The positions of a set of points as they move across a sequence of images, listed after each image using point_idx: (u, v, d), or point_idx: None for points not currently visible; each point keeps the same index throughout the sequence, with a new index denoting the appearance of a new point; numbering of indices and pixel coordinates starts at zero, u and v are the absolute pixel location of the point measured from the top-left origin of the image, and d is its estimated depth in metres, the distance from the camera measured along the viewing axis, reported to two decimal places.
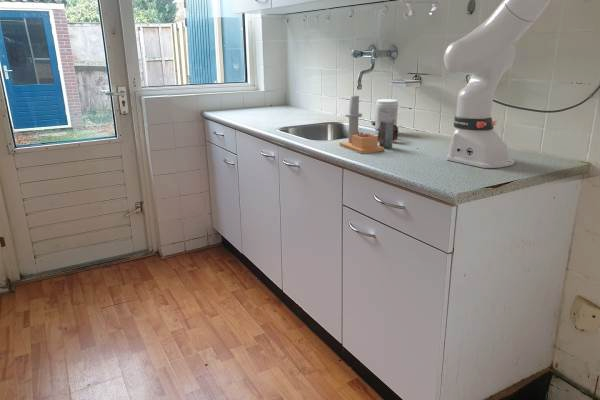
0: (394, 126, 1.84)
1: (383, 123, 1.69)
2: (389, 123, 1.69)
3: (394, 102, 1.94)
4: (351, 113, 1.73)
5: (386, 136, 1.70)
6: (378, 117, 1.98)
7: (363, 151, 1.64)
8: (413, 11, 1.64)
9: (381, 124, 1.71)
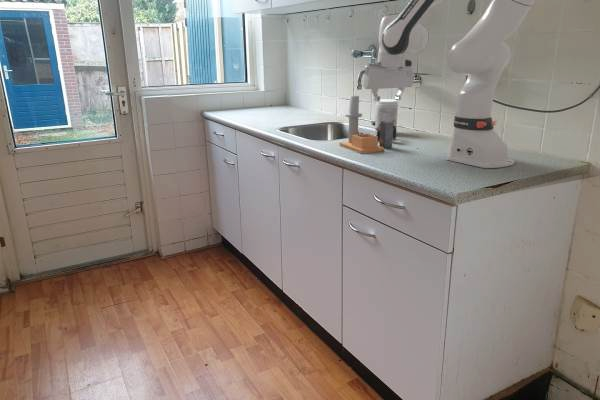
0: None
1: (383, 123, 1.69)
2: (389, 123, 1.69)
3: (394, 102, 1.94)
4: (351, 113, 1.73)
5: (386, 136, 1.70)
6: (378, 117, 1.98)
7: (363, 151, 1.64)
8: (378, 97, 1.65)
9: (381, 124, 1.71)
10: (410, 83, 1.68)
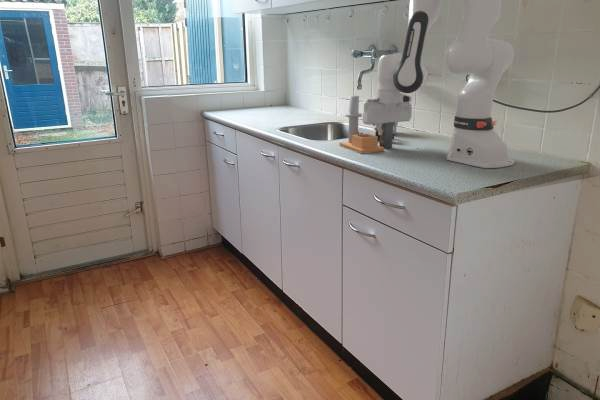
0: None
1: (383, 123, 1.69)
2: (389, 123, 1.69)
3: None
4: (351, 113, 1.73)
5: (386, 136, 1.70)
6: None
7: (363, 151, 1.64)
8: (382, 131, 1.70)
9: None
10: (408, 117, 1.72)
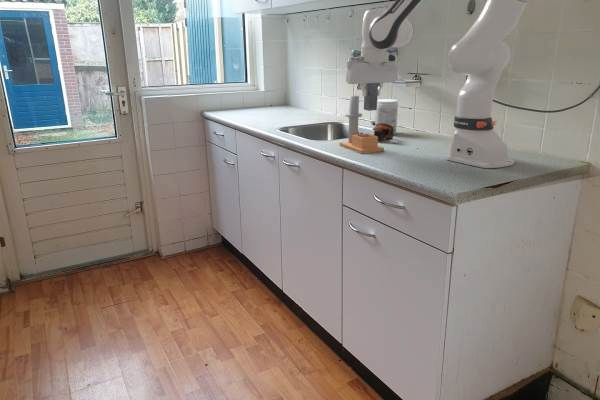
0: (389, 126, 1.84)
1: None
2: (374, 83, 1.62)
3: (394, 102, 1.94)
4: (351, 113, 1.73)
5: (371, 97, 1.64)
6: (378, 117, 1.98)
7: (363, 151, 1.64)
8: (367, 92, 1.63)
9: None
10: (394, 78, 1.65)
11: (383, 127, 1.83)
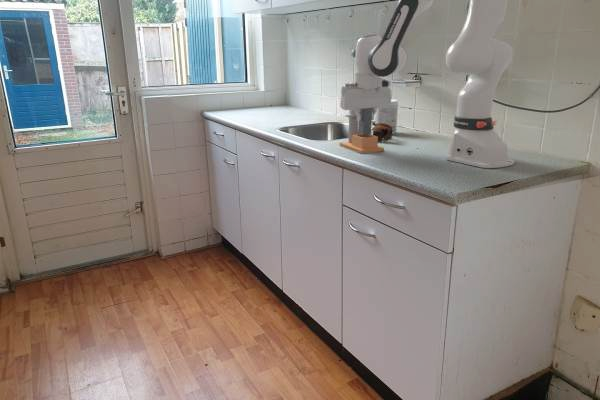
0: (388, 126, 1.84)
1: (361, 109, 1.65)
2: (367, 108, 1.64)
3: (394, 102, 1.94)
4: (351, 113, 1.73)
5: (365, 122, 1.66)
6: (378, 117, 1.98)
7: (363, 151, 1.64)
8: (361, 117, 1.65)
9: (360, 110, 1.66)
10: (388, 103, 1.67)
11: (382, 127, 1.83)
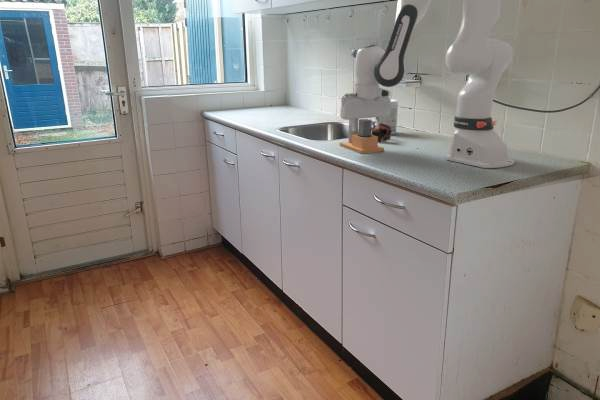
0: (387, 126, 1.84)
1: (361, 121, 1.67)
2: (367, 121, 1.66)
3: (394, 102, 1.94)
4: None
5: (365, 134, 1.67)
6: None
7: (363, 151, 1.64)
8: (356, 127, 1.65)
9: (359, 122, 1.68)
10: (387, 112, 1.68)
11: (381, 127, 1.83)
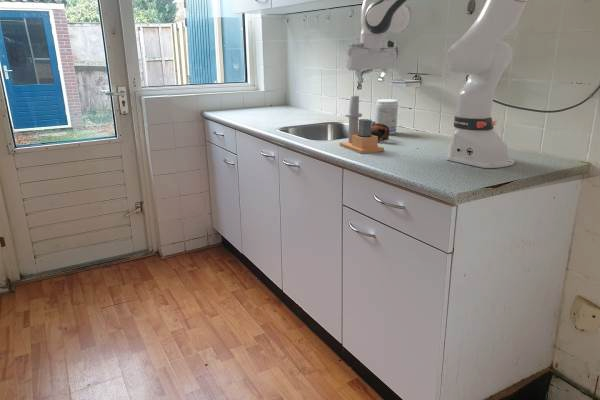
0: (385, 126, 1.84)
1: (361, 121, 1.67)
2: (367, 121, 1.66)
3: (394, 102, 1.94)
4: (351, 113, 1.73)
5: (365, 134, 1.67)
6: (378, 117, 1.98)
7: (363, 151, 1.64)
8: (362, 79, 1.66)
9: (359, 122, 1.68)
10: (393, 64, 1.69)
11: (379, 127, 1.83)
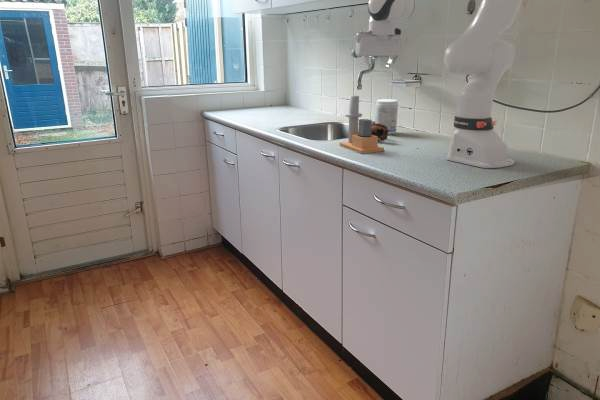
0: (384, 126, 1.84)
1: (361, 121, 1.67)
2: (367, 121, 1.66)
3: (394, 102, 1.94)
4: (351, 113, 1.73)
5: (365, 134, 1.67)
6: (378, 117, 1.98)
7: (363, 151, 1.64)
8: (370, 64, 1.74)
9: (359, 122, 1.68)
10: (400, 51, 1.77)
11: (377, 127, 1.83)
